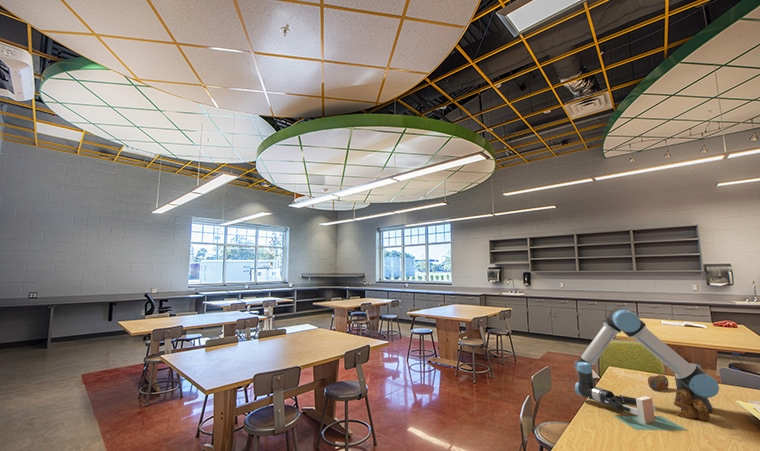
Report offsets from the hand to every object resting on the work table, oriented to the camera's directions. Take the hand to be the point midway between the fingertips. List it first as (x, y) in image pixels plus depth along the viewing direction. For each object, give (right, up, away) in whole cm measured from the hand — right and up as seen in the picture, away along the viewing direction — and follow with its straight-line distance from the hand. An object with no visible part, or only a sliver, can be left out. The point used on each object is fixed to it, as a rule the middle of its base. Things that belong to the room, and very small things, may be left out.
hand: (646, 410), depth 160 cm
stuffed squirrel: (+29, -7, +5) cm, 30 cm away
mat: (0, -6, -1) cm, 6 cm away
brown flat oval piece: (+48, -14, +47) cm, 68 cm away
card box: (0, -6, 0) cm, 6 cm away
